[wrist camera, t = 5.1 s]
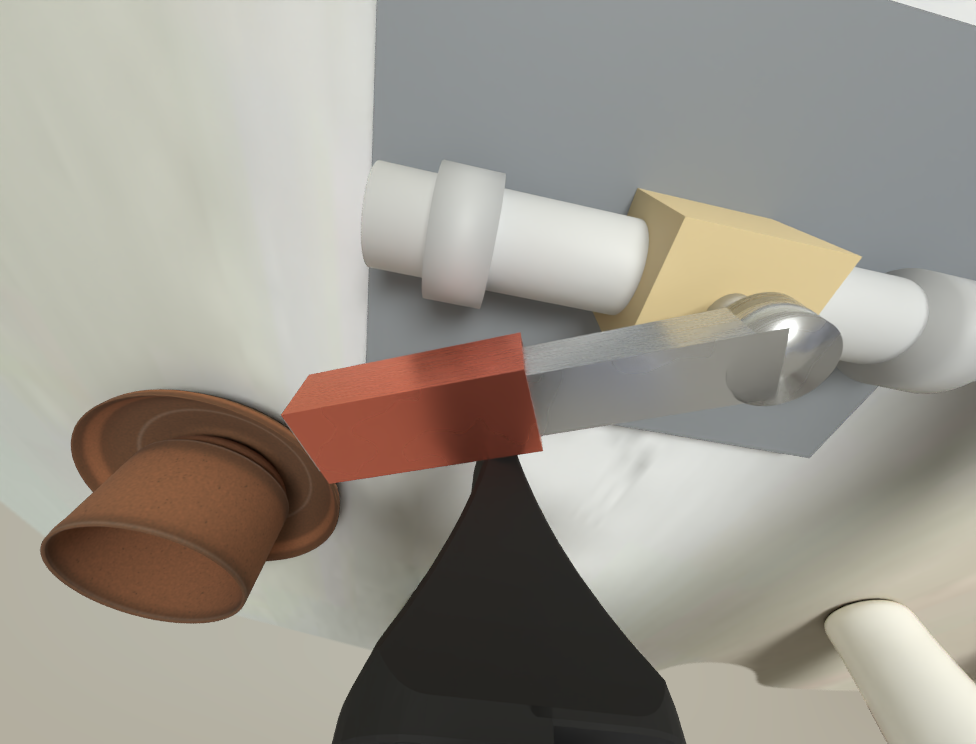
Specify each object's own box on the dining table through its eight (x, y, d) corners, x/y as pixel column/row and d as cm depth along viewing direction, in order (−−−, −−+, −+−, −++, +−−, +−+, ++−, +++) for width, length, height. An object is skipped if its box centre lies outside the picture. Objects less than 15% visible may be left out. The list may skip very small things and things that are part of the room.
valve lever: (808, 274, 8) (866, 305, 7) (787, 365, 10) (833, 406, 8) (302, 376, 10) (273, 416, 9) (342, 441, 12) (322, 485, 10)
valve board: (1117, 84, 11) (1550, 71, 6) (795, 442, 19) (889, 549, 14) (392, -129, 9) (287, -360, 4) (371, 368, 17) (326, 465, 12)
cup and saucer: (230, 547, 25) (161, 660, 20) (49, 414, 19) (-117, 528, 14) (392, 504, 22) (360, 623, 17) (241, 331, 16) (122, 436, 11)
